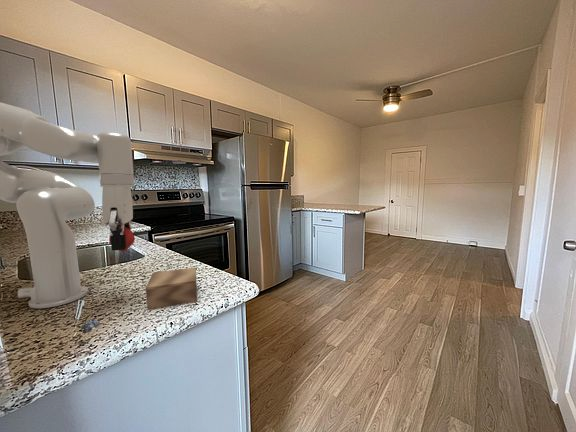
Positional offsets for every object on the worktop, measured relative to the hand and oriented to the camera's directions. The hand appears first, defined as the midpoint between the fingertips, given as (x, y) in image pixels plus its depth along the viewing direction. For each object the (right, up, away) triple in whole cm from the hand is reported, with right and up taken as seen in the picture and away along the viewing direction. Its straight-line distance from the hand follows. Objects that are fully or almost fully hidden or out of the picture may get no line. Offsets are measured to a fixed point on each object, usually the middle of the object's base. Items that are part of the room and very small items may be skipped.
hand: (122, 246), depth 68 cm
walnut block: (+13, -15, +3) cm, 20 cm away
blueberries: (0, -18, -12) cm, 21 cm away
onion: (0, -2, 0) cm, 2 cm away
